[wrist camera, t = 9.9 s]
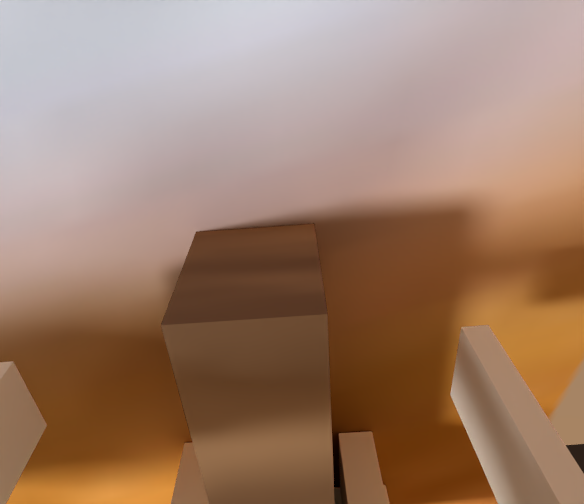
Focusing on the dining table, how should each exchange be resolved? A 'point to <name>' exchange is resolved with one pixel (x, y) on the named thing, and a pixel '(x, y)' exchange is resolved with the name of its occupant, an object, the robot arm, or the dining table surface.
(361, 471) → the cream u-shaped bracket
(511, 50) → the dining table surface
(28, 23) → the dining table surface
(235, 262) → the rail
